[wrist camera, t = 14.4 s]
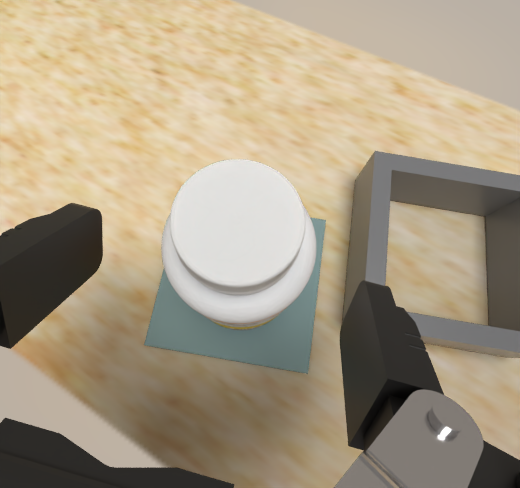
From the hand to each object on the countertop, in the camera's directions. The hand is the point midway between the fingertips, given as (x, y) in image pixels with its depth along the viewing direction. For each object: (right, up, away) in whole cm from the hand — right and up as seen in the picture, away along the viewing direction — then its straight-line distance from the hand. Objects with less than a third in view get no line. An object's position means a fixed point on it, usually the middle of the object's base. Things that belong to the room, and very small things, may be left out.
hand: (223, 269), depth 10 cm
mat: (0, -1, +10) cm, 10 cm away
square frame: (+11, 0, +10) cm, 15 cm away
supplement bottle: (0, -1, +9) cm, 10 cm away
